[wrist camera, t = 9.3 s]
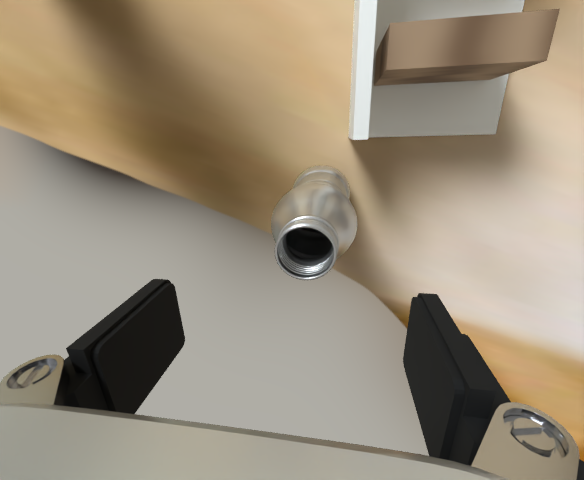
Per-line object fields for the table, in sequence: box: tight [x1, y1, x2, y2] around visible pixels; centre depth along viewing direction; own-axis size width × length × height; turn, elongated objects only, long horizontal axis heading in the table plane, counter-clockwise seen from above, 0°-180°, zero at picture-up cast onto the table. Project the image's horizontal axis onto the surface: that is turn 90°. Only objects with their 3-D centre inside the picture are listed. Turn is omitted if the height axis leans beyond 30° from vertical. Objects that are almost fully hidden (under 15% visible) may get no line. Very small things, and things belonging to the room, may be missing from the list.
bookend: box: [374, 9, 560, 86], centre depth 24 cm, size 11×3×8 cm, turn 91°
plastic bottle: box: [271, 165, 358, 280], centre depth 26 cm, size 6×7×20 cm
